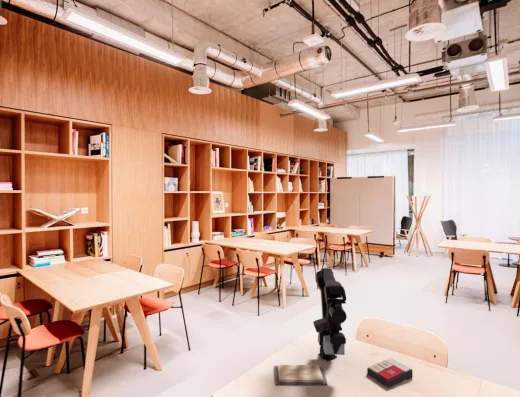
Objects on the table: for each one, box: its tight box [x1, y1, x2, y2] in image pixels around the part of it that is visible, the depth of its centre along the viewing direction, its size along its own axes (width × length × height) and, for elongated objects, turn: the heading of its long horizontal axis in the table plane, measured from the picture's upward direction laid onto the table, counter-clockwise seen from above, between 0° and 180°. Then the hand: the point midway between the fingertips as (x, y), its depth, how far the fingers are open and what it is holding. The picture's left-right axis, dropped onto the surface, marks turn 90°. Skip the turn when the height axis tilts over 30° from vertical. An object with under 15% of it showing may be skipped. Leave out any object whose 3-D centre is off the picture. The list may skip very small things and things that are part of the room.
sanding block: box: [323, 336, 346, 356], centre depth 133 cm, size 8×5×6 cm, turn 86°
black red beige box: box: [366, 357, 414, 388], centre depth 133 cm, size 11×4×15 cm
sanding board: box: [273, 364, 329, 386], centre depth 133 cm, size 21×13×2 cm, turn 89°
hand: (334, 350), depth 133 cm, fingers closed on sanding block, 5 cm apart
